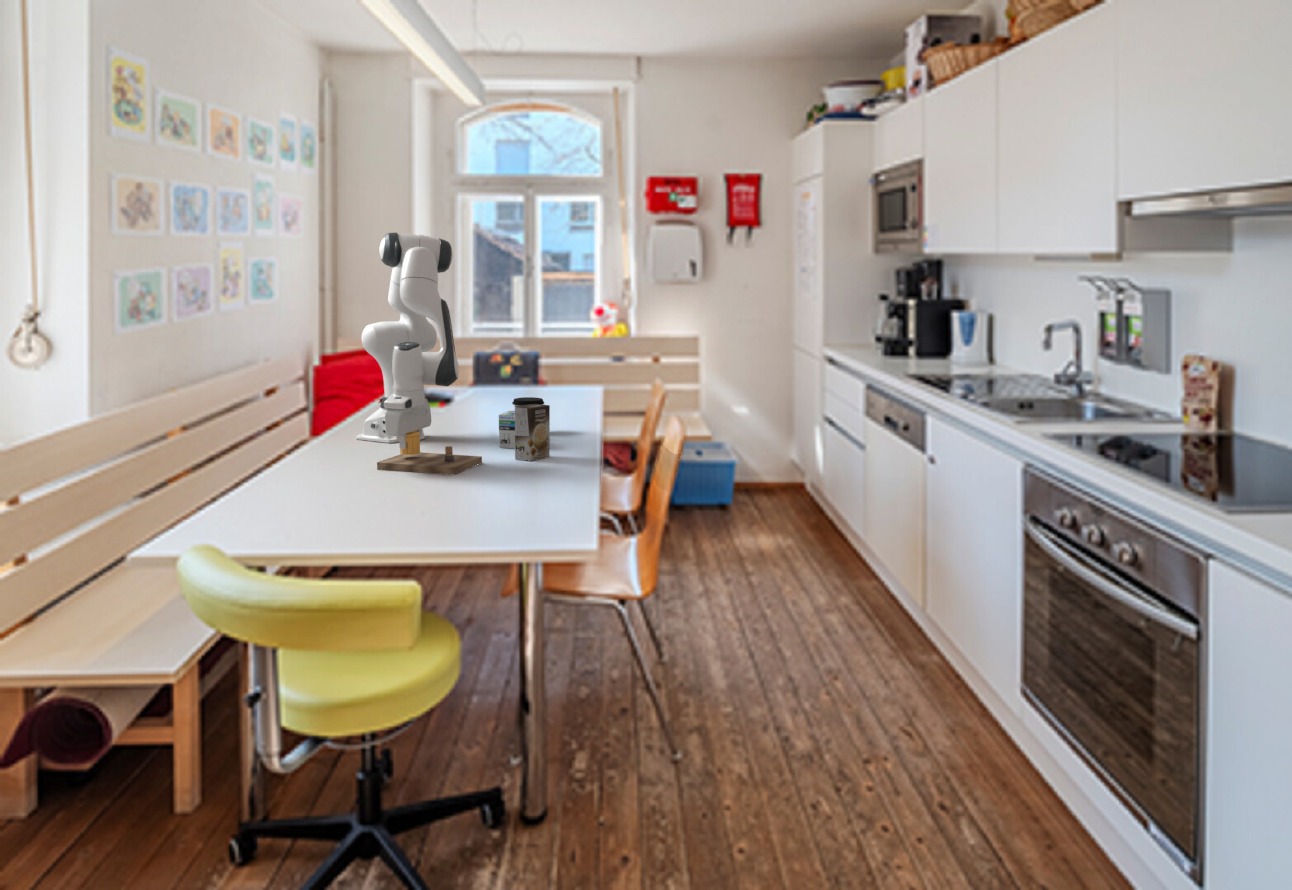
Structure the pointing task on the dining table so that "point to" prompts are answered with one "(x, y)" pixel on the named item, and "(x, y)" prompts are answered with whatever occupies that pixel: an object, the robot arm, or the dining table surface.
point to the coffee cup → (527, 401)
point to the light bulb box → (507, 430)
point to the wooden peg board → (430, 462)
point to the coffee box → (532, 432)
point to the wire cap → (412, 443)
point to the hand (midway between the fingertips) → (409, 446)
